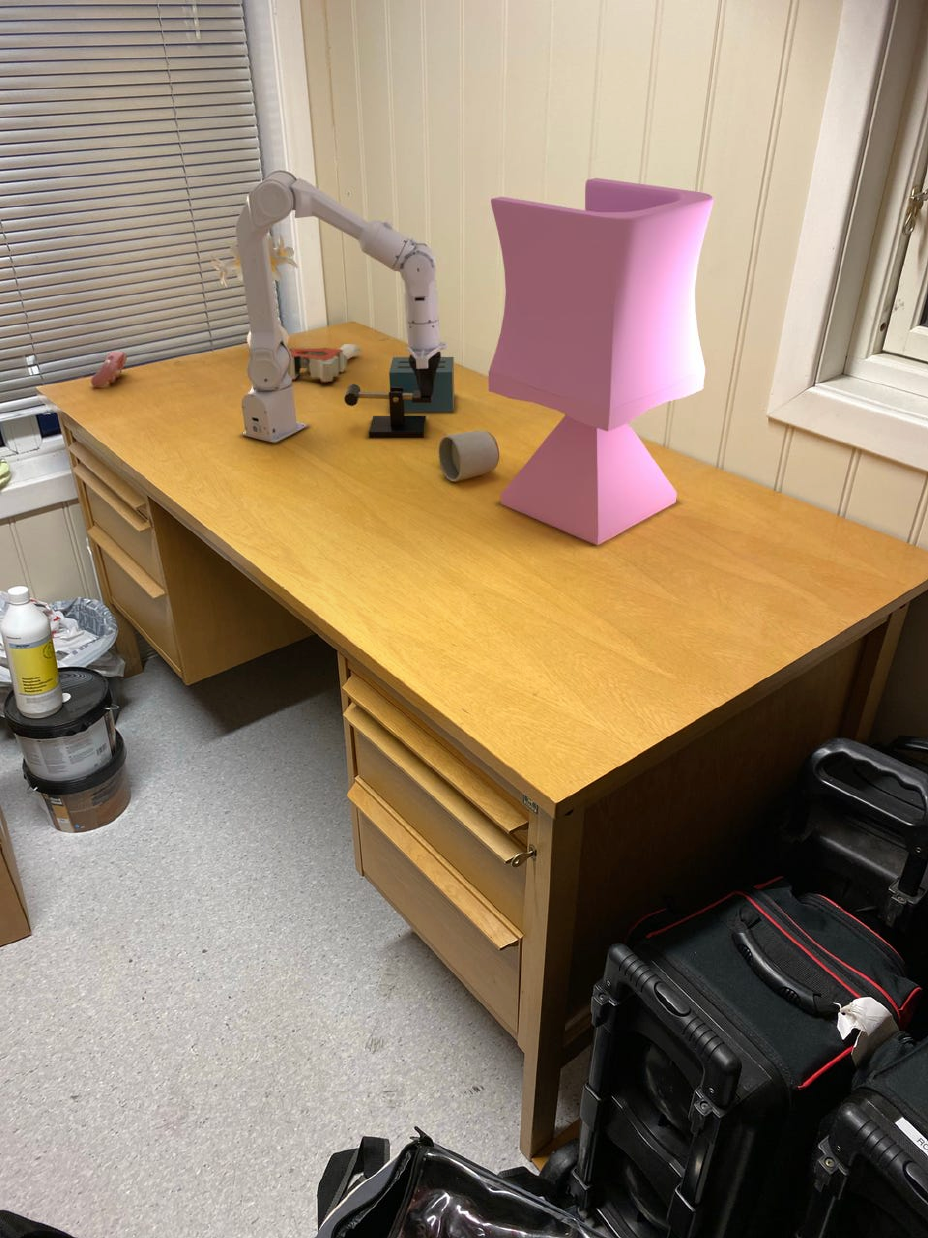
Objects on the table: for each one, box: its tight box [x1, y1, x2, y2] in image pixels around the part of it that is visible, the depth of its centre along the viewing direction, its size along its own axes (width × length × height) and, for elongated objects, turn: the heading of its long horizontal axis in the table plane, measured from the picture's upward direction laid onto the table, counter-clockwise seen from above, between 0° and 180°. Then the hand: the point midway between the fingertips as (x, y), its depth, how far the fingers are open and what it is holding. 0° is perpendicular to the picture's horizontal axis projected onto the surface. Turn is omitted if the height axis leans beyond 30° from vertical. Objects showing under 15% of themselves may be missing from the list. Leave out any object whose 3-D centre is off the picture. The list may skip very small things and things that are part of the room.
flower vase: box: [209, 234, 299, 347], centre depth 207 cm, size 13×18×25 cm
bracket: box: [368, 386, 427, 439], centre depth 175 cm, size 10×8×8 cm
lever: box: [343, 383, 432, 407], centre depth 173 cm, size 16×5×2 cm, turn 89°
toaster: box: [388, 356, 455, 414], centre depth 185 cm, size 12×9×8 cm
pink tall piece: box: [488, 177, 715, 546], centre depth 138 cm, size 22×22×45 cm
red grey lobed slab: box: [287, 343, 361, 384], centre depth 203 cm, size 18×5×20 cm
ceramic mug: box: [437, 430, 500, 483], centre depth 159 cm, size 11×8×8 cm
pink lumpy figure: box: [90, 349, 128, 388], centre depth 200 cm, size 10×5×7 cm, turn 179°
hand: (427, 394), depth 173 cm, fingers closed, pressing on lever
